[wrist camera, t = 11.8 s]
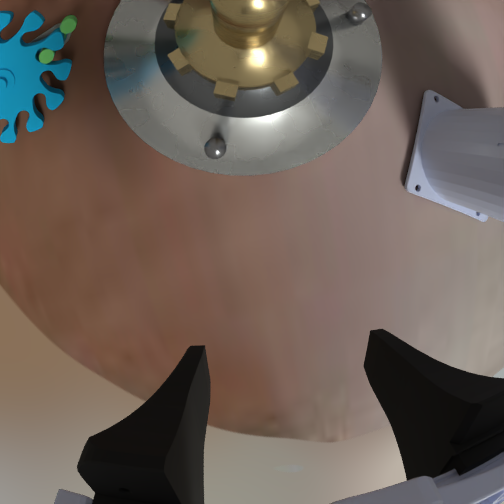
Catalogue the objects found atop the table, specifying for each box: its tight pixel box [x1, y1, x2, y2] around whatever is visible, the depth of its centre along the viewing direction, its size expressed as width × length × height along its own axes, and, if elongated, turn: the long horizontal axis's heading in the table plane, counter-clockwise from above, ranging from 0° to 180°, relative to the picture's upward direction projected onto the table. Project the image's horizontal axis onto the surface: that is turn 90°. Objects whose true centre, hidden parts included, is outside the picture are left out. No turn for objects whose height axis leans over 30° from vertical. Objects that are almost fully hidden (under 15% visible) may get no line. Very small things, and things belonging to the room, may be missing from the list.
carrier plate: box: [104, 0, 382, 176], centre depth 15 cm, size 18×18×2 cm
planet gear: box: [163, 0, 328, 102], centre depth 12 cm, size 9×9×6 cm
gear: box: [0, 10, 77, 143], centre depth 13 cm, size 11×6×10 cm
